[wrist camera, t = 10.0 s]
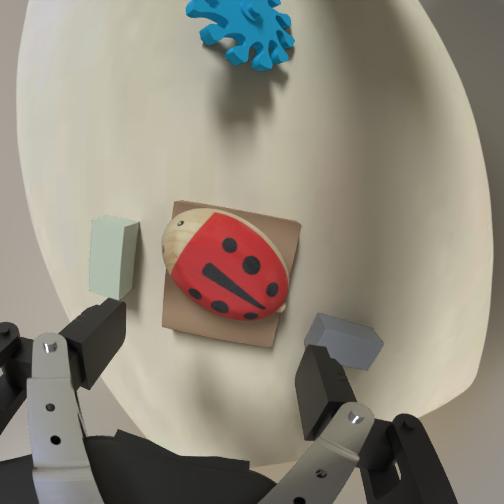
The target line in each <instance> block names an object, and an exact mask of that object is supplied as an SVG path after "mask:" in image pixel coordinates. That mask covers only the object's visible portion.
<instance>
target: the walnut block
mask: <svg viewBox="0 0 504 504" xmlns="http://www.w3.org/2000/svg"><path fill="white" fill-rule="evenodd" d="M198 208H211V209H218V210H222V211H226V212H229V213H232V214H234V215H237V216H239V217H241V218H243V219H245V220H246V221H248V222H250V223H251V224H252V225H254V226H255V227H257V228H258V229H259V230H260V231H262V232H263V233H264V234H265V235H266V236H267V237H268V238H269V239H270V240H271V241H272V243H273V244H274V245H275V246H276V248H277V249H278V250H279V252H280V253H281V255H282V257H283V259H284V261H285V263H286V266H287V270H288V274H289V277H290V273H291V269H292V265H293V260H294V256H295V252H296V247H297V243H298V238H299V234H300V229H301V224H299V223H298V222H297V221H293V220H288V219H283V218H278V217H273V216H268V215H262V214H257V213H252V212H247V211H241V210H236V209H230V208H225V207H219V206H213V205H207V204H201V203H195V202H189V201H183V200H181V201H176V202H174V207H173V214H172V219H173V218H175V217H176V216H177V215H179V214H181V213H183V212H185V211H188V210H192V209H198ZM279 317H280V313H279V312H274V313H273V314H271V315H270V316H268V317H266V318H263V319H259V320H254V321H241V320H233V319H229V318H225V317H222V316H219V315H217V314H215V313H212V312H210V311H208V310H206V309H205V308H203V307H201V306H200V305H198V304H197V303H196V302H194V301H193V300H192V299H190V298H189V297H188V296H187V295H186V294H185V293H184V292H183V291H182V290H181V289H180V288H179V287H178V286H177V285H176V283H175V282H174V281H173V279H172V278H171V276H170V274H169V272H168V270H167V268H166V275H165V286H164V300H163V315H162V327H165V328H169V329H173V330H178V331H182V332H187V333H191V334H196V335H201V336H206V337H211V338H216V339H221V340H227V341H232V342H238V343H244V344H250V345H257V346H263V347H270V348H271V347H272V343H273V340H274V336H275V332H276V328H277V325H278V321H279Z"/></svg>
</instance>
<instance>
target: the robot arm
mask: <svg viewBox="0 0 504 504" xmlns="http://www.w3.org/2000/svg"><path fill="white" fill-rule="evenodd" d="M125 335H126V304H125V302H122V301H119V300H116V299H113V298H108V299H107V300H105V301H104V302H103V303H102V304H101V305H100V306H99V305H95V306H92V307H89V308H87V309H86V310H85V311H84V312H82V313H81V315H79V316H78V317H77V318H76V319H74V320H73V321H72V322H71V323H70V324H68V325H67V326H66V327H65V328H64V329H63V330H62V331H61V332H60V333H58V334H56V333H44V334H41V335H39V336H38V337H36V339H35V340H32V339H27V338H23V337H20V334H19V330H18V328H17V326H16V325H15V324H13V323H10V322H2V323H0V368H2V371H3V375H2V376H1V377H0V435H1V433H2V432H3V430H4V429H5V427H6V426H7V424H8V423H9V421H10V420H11V419H12V417H13V416H14V414H15V413H16V412H17V410H18V409H19V407H20V406H21V405H22V403H23V402H24V401H25V399H26V398H27V410H28V425H29V435H30V443H31V450H32V454H30V455H26V456H22V457H19V458H14V459H10V460H5V461H1V462H0V504H333V502H334V501H335V499H336V498H337V496H338V495H339V493H340V492H341V490H342V488H343V487H344V485H345V484H346V482H347V480H348V478H349V477H350V475H351V473H352V472H353V470H354V468H355V467H358V468H360V472H361V477H362V481H363V486H364V490H365V495H366V500H367V504H458V503H457V500H456V497H455V495H454V492H453V490H452V487H451V485H450V483H449V480H448V478H447V476H446V473H445V471H444V469H443V466H442V464H441V462H440V460H439V458H438V456H437V454H436V452H435V449H434V447H433V445H432V443H431V441H430V439H429V437H428V435H427V433H426V431H425V429H424V427H423V425H422V423H421V422H420V420H418V419H417V418H416V417H414V416H413V415H410V414H399V415H397V416H396V417H395V418H394V420H393V421H392V422H389V421H384V420H379V419H375V418H374V415H373V413H372V411H371V410H370V409H369V408H368V407H366V406H365V405H363V404H360V403H357V400H356V398H355V395H354V393H353V391H352V388H351V386H350V383H349V382H348V379H347V376H346V375H345V372H344V369H343V367H342V365H341V364H340V363H339V362H338V361H337V360H336V359H334V358H330V355H329V353H328V350H327V348H326V347H325V346H319V345H312V344H309V345H308V346H307V347H306V350H305V352H304V355H303V357H302V360H301V362H300V365H299V367H298V370H297V372H296V377H295V387H296V393H297V398H298V404H299V410H300V416H301V422H302V428H303V434H304V440H306V441H314V443H313V444H312V445H311V446H310V447H309V449H308V450H307V451H306V452H305V454H304V455H303V456H302V457H301V458H300V459H299V461H298V462H297V463H296V464H295V465H294V466H293V468H292V469H291V470H290V471H289V472H288V473H287V474H286V475H285V476H284V477H283V478H282V480H281V481H280V482H279V483H278V484H277V483H275V482H274V481H272V480H271V479H269V478H267V477H266V476H264V475H262V474H260V473H257V472H255V471H252V470H249V463H250V461H244V460H236V459H229V458H223V457H217V456H209V457H200V456H180V455H177V454H175V453H173V452H171V451H169V450H167V449H165V448H163V447H161V446H159V445H157V444H155V443H153V442H152V441H150V440H148V439H144V438H141V437H138V436H136V435H133V434H130V433H127V432H124V431H122V430H119V429H118V430H117V432H116V434H115V436H114V437H112V436H89V437H88V434H87V431H86V428H85V424H84V420H83V416H82V412H81V408H80V404H79V398H78V394H77V390H78V388H79V387H80V386H81V387H83V388H85V389H88V390H90V389H91V387H92V386H93V385H94V383H95V382H96V380H97V379H98V377H99V376H100V375H101V373H102V372H103V371H104V369H105V368H106V366H107V365H108V364H109V362H110V361H111V360H112V358H113V357H114V355H115V354H116V353H117V351H118V350H119V349H120V347H121V346H122V344H123V342H124V340H125ZM396 462H397V464H398V467H399V470H400V473H401V480H399V476H398V473H397V470H396V467H395V463H396Z"/></svg>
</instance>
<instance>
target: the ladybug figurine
mask: <svg viewBox="0 0 504 504" xmlns="http://www.w3.org/2000/svg"><path fill="white" fill-rule="evenodd" d="M162 256H163V260H164V263H165V266H166V268H167V270H168V272H169V274H170V276H171V278H172V279H173V281H174V282H175V283H176V285H177V286H178V287H179V288H180V289H181V290H182V291H183V292H184V293H185V294H186V295H187V296H188V297H189V298H190V299H192V300H193V301H194V302H196V303H197V304H198V305H200V306H201V307H203V308H205V309H206V310H208V311H210V312H212V313H215V314H217V315H219V316H222V317H225V318H229V319H233V320H241V321H254V320H259V319H263V318H266V317H268V316H270V315H271V314H273V313H274V312H279V313H281V312H283V311H284V310H285V308H286V304H285V299H286V297H287V295H288V291H289V274H288V270H287V266H286V263H285V261H284V259H283V257H282V255H281V253H280V252H279V250H278V249H277V248H276V246H275V245H274V244H273V243H272V241H271V240H270V239H269V238H268V237H267V236H266V235H265V234H264V233H263V232H262V231H260V230H259V229H258V228H257V227H255V226H254V225H252V224H251V223H250V222H248V221H246V220H245V219H243V218H241V217H239V216H237V215H234V214H232V213H229V212H226V211H222V210H218V209H211V208H198V209H192V210H188V211H185V212H183V213H181V214H179V215H177V216H176V217H175V218H173V219H172V220H171V221H170V223H169V224H168V225H167V227H166V229H165V231H164V234H163V237H162Z"/></svg>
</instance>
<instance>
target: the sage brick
mask: <svg viewBox="0 0 504 504" xmlns="http://www.w3.org/2000/svg"><path fill="white" fill-rule="evenodd" d="M138 230H139V221H134V220H130V219H125V218H121V217H116V216H111V215H108V216H104V217H100V218H96V219H92V228H91V240H90V257H89V291H91V292H93V293H96V294H99V295H102V296H105V297H108V298H113V299H116V300H120V299H121V298H123V297H124V296H125V295H126V294H127V293H128V292H129V291H130V290H131V289H133V275H134V264H135V254H136V245H137V237H138Z"/></svg>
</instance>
